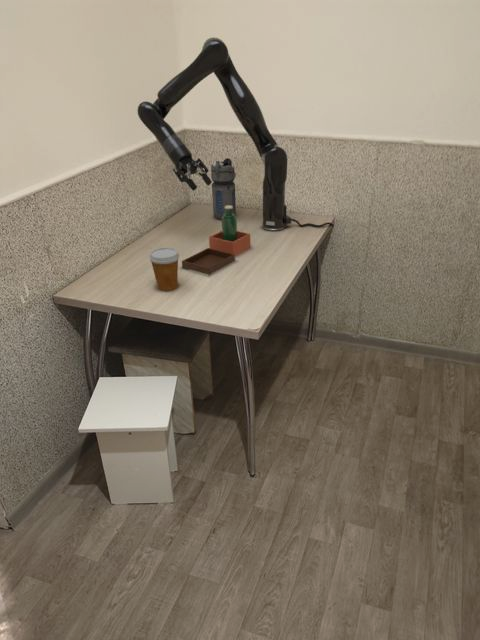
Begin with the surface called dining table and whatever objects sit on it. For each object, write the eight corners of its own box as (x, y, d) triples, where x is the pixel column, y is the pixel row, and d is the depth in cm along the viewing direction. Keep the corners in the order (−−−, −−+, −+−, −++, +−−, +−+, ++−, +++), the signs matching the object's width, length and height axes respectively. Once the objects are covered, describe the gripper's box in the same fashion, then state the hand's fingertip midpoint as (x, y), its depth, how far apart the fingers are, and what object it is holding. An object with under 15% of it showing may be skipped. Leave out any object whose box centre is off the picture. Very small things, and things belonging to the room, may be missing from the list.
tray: (208, 254, 192) (208, 247, 191) (235, 261, 187) (234, 254, 185) (182, 268, 182) (181, 261, 180) (209, 275, 176) (208, 268, 175)
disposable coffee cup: (187, 283, 171) (183, 249, 165) (173, 295, 163) (170, 260, 157) (161, 279, 174) (157, 245, 167) (147, 290, 166) (142, 256, 160)
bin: (227, 242, 203) (226, 228, 200) (250, 248, 198) (250, 233, 194) (209, 251, 195) (208, 236, 192) (233, 257, 190) (233, 242, 186)
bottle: (234, 245, 199) (233, 203, 190) (239, 250, 195) (238, 207, 186) (221, 247, 197) (218, 205, 188) (225, 252, 193) (223, 209, 184)
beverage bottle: (241, 213, 234) (240, 156, 221) (229, 222, 224) (227, 163, 210) (221, 211, 237) (219, 154, 224) (208, 219, 227) (205, 161, 213)
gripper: (168, 147, 181) (195, 184, 182) (194, 140, 191) (219, 176, 192) (158, 160, 186) (185, 197, 187) (184, 153, 196) (209, 188, 197)
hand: (202, 186), depth 189 cm, fingers open, 8 cm apart
